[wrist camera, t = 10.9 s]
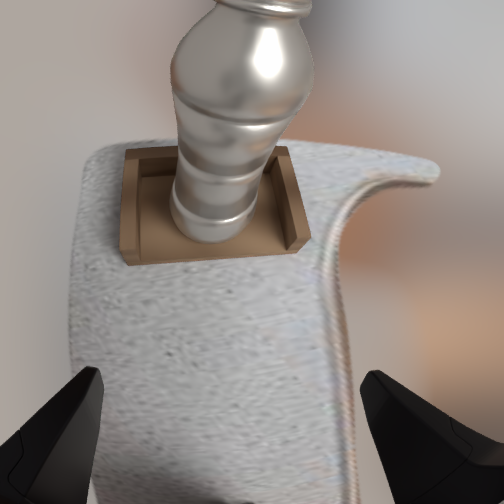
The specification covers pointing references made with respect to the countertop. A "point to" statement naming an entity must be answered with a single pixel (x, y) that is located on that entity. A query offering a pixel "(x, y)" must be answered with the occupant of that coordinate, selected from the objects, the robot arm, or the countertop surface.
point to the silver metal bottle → (234, 109)
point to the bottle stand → (185, 249)
